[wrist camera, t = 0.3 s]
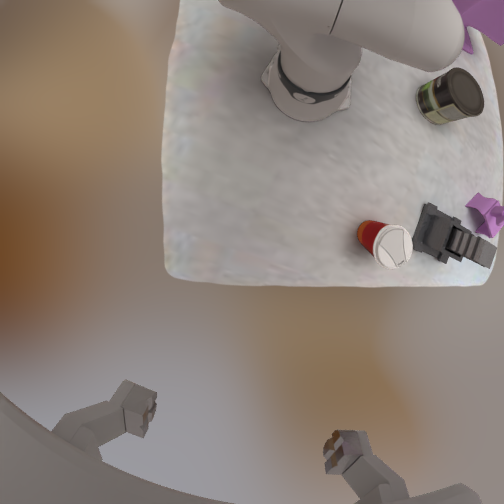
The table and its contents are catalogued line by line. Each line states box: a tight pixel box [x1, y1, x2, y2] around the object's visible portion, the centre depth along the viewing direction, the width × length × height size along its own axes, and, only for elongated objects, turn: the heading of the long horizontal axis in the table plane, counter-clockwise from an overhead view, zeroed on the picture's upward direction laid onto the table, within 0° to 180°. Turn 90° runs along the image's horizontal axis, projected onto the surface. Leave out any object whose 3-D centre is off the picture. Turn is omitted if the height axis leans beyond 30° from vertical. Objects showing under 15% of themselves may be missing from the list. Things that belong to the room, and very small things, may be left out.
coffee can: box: [416, 68, 484, 125], centre depth 38 cm, size 10×10×14 cm
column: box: [445, 228, 497, 269], centre depth 42 cm, size 4×4×18 cm
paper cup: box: [357, 220, 413, 269], centre depth 47 cm, size 8×8×14 cm
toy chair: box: [465, 192, 504, 238], centre depth 43 cm, size 8×9×15 cm
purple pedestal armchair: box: [452, 0, 504, 54], centre depth 20 cm, size 16×16×35 cm
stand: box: [412, 203, 472, 264], centre depth 47 cm, size 11×11×10 cm
